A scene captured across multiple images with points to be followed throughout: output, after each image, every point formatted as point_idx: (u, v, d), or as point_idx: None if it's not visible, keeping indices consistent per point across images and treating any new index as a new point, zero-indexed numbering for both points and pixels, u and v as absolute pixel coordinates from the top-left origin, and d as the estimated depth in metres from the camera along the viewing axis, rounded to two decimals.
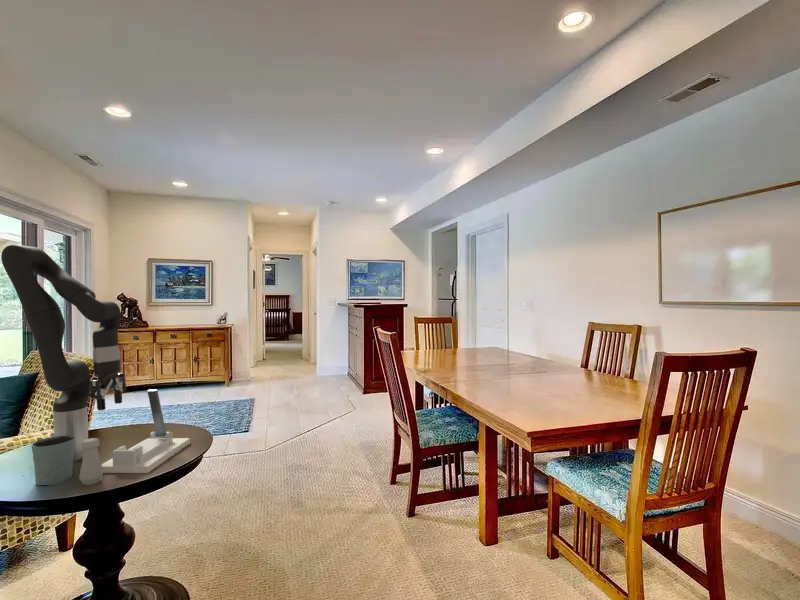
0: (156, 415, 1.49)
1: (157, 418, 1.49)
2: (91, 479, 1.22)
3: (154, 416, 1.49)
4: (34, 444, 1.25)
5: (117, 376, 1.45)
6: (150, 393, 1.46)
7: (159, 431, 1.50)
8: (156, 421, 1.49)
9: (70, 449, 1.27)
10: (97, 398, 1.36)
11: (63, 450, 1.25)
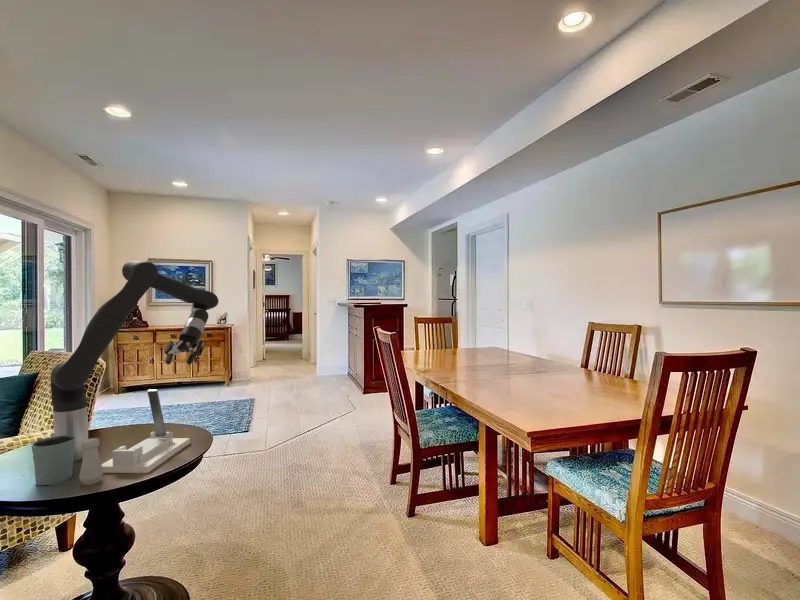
0: (156, 415, 1.49)
1: (157, 418, 1.49)
2: (91, 479, 1.22)
3: (154, 416, 1.49)
4: (34, 444, 1.25)
5: None
6: (150, 393, 1.46)
7: (159, 431, 1.50)
8: (156, 421, 1.49)
9: (70, 449, 1.27)
10: (197, 354, 1.65)
11: (63, 450, 1.25)
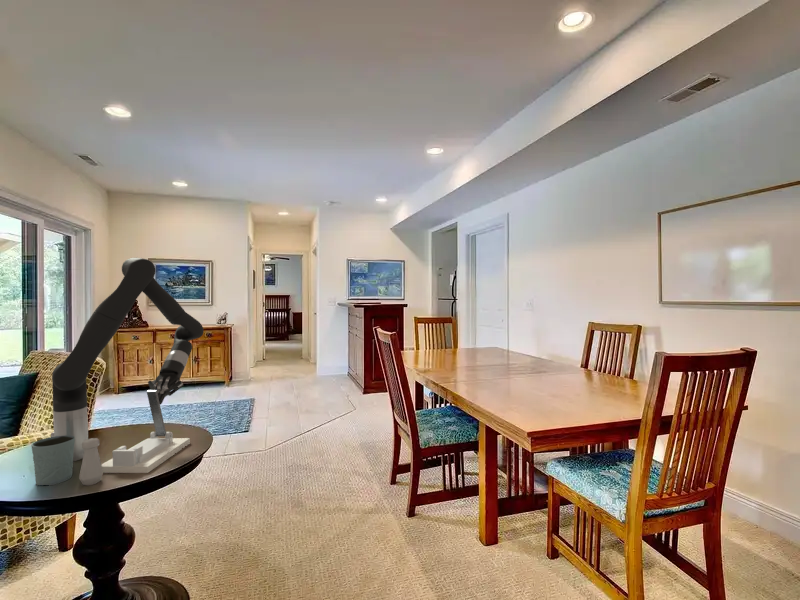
0: (156, 415, 1.48)
1: (157, 418, 1.49)
2: (91, 479, 1.22)
3: (154, 416, 1.48)
4: (34, 444, 1.25)
5: None
6: (149, 394, 1.46)
7: (159, 431, 1.50)
8: (156, 421, 1.49)
9: (70, 449, 1.27)
10: (167, 394, 1.52)
11: (63, 450, 1.25)
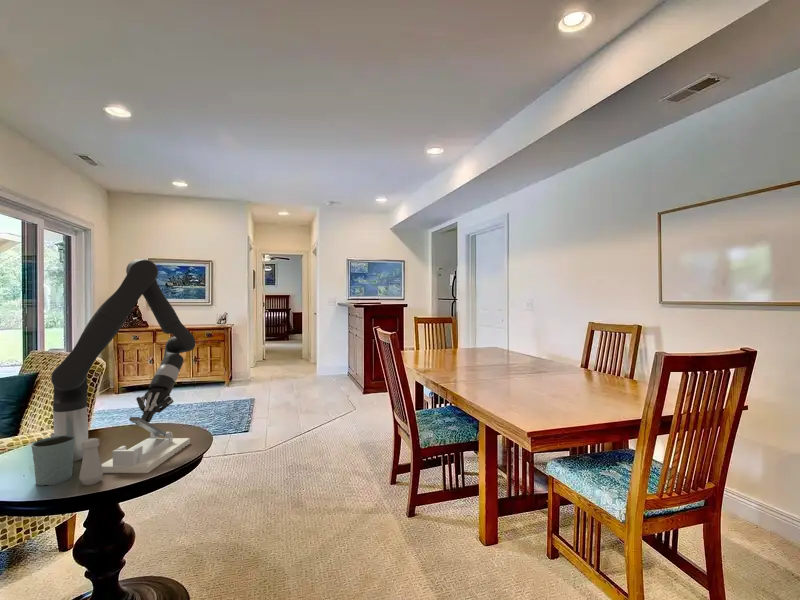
0: (149, 429, 1.44)
1: (151, 430, 1.45)
2: (91, 479, 1.22)
3: (147, 429, 1.45)
4: (34, 444, 1.25)
5: None
6: (133, 421, 1.37)
7: (158, 434, 1.50)
8: (151, 431, 1.46)
9: (70, 449, 1.27)
10: (156, 411, 1.45)
11: (63, 450, 1.25)
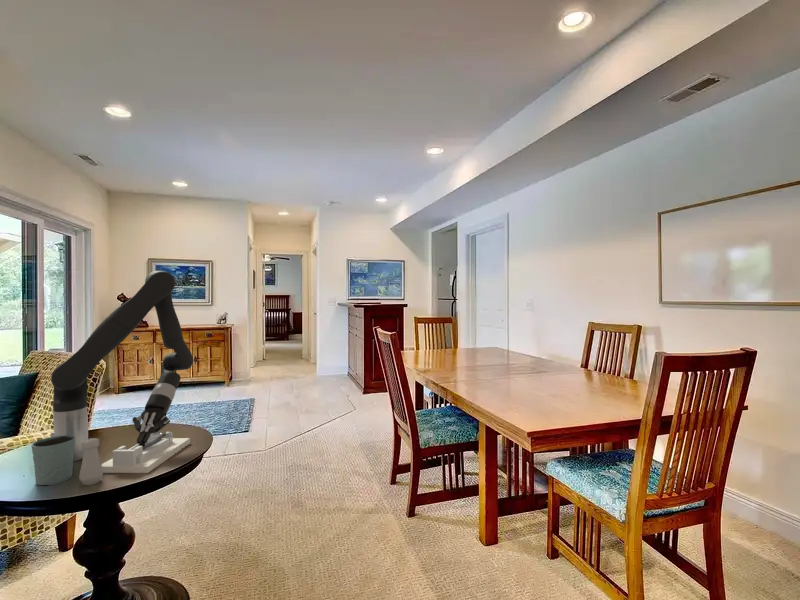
0: None
1: None
2: (91, 479, 1.22)
3: None
4: (34, 444, 1.25)
5: None
6: None
7: None
8: None
9: (70, 449, 1.27)
10: (153, 432, 1.43)
11: (63, 450, 1.25)
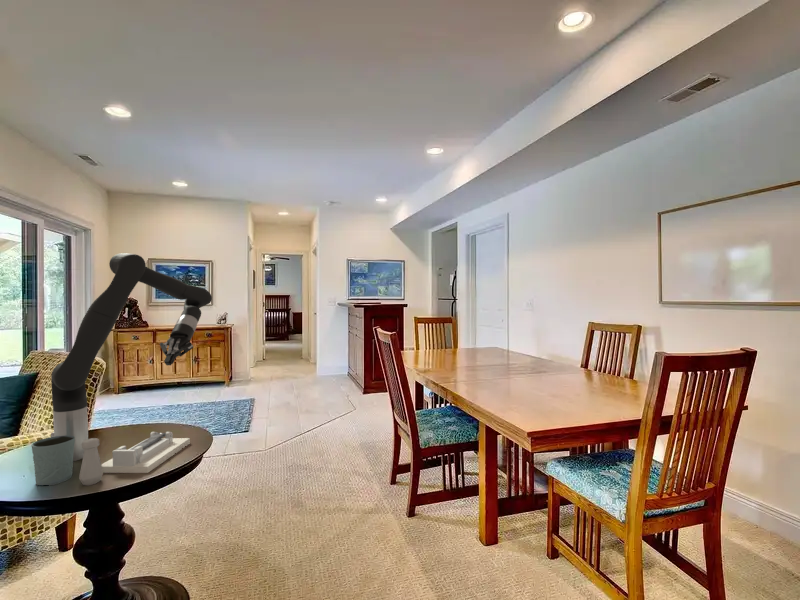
0: None
1: None
2: (91, 479, 1.22)
3: None
4: (34, 444, 1.25)
5: None
6: None
7: None
8: None
9: (70, 449, 1.27)
10: (178, 355, 1.59)
11: (63, 450, 1.25)
